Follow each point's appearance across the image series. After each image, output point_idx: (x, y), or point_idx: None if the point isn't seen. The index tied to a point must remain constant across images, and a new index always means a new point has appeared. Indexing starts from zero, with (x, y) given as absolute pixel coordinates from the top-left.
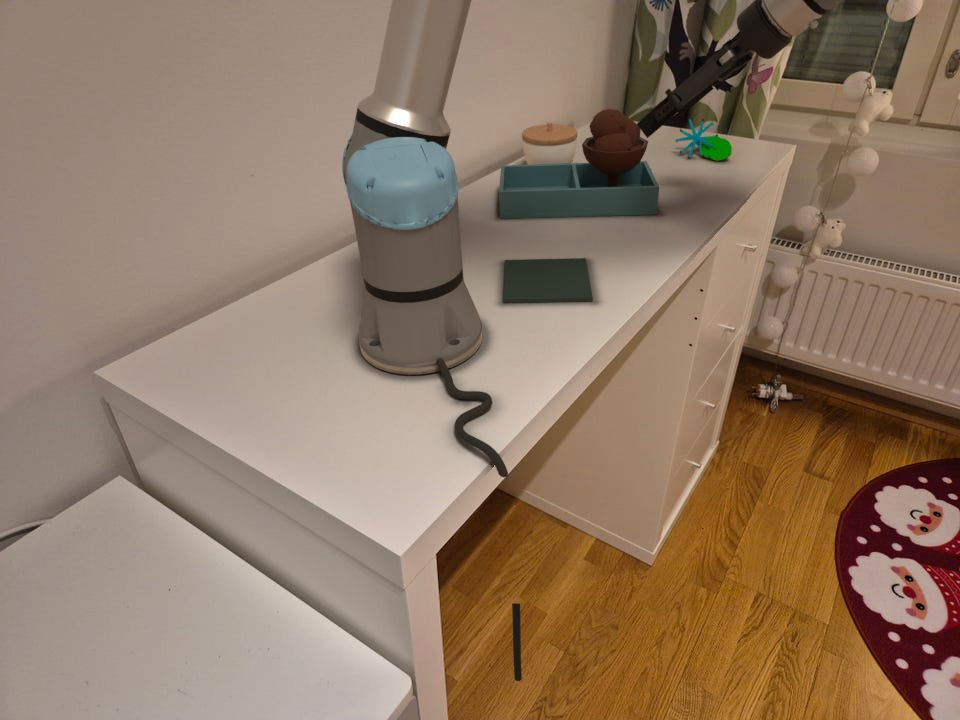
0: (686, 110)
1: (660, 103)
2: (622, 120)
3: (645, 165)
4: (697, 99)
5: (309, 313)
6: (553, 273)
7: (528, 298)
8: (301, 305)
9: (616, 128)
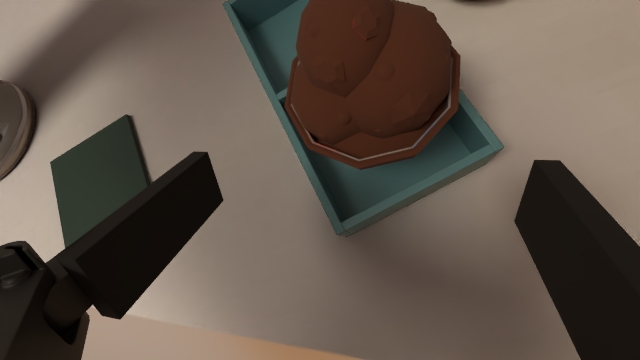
0: (525, 243)
1: (107, 220)
2: (328, 68)
3: (465, 157)
4: (559, 299)
5: (21, 29)
6: (107, 181)
7: (54, 184)
8: (31, 14)
9: (307, 75)
